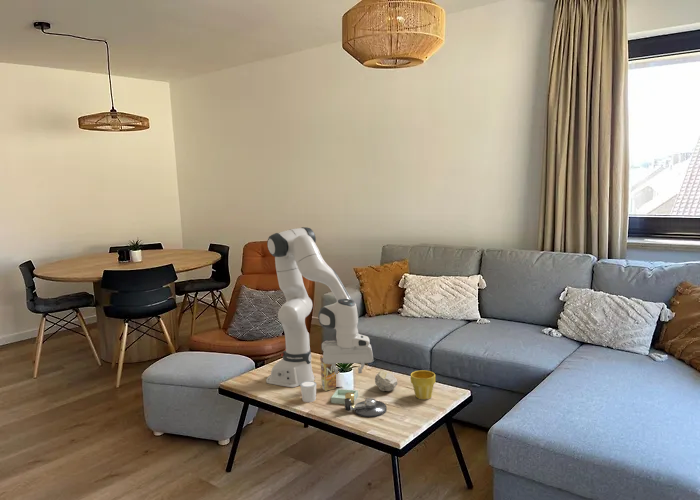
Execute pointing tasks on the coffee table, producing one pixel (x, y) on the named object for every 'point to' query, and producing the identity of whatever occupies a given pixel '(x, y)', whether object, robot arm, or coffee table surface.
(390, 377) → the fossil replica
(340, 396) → the tray
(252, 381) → the coffee table surface
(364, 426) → the coffee table surface
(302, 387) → the white cylinder
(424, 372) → the plant pot
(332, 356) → the robot arm
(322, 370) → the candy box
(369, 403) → the crank
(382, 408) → the base
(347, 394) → the pin
